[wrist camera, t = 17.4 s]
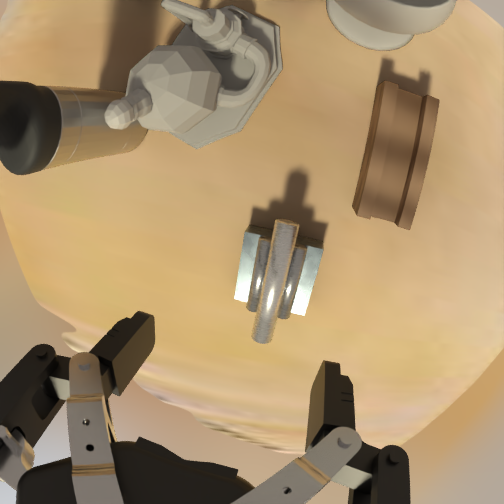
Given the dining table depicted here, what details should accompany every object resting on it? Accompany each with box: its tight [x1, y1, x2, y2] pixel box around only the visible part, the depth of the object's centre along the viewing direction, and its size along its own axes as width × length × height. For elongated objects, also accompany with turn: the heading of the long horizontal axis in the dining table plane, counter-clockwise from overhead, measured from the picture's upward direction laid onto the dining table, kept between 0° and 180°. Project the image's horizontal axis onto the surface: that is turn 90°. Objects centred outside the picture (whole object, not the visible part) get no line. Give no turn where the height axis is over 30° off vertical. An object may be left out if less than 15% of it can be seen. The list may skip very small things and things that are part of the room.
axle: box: [251, 219, 299, 344], centre depth 37 cm, size 16×3×3 cm, turn 171°
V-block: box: [234, 225, 323, 319], centre depth 40 cm, size 10×10×5 cm
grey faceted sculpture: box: [104, 0, 283, 149], centre depth 27 cm, size 20×15×15 cm
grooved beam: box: [352, 80, 439, 230], centre depth 31 cm, size 16×7×5 cm, turn 171°
